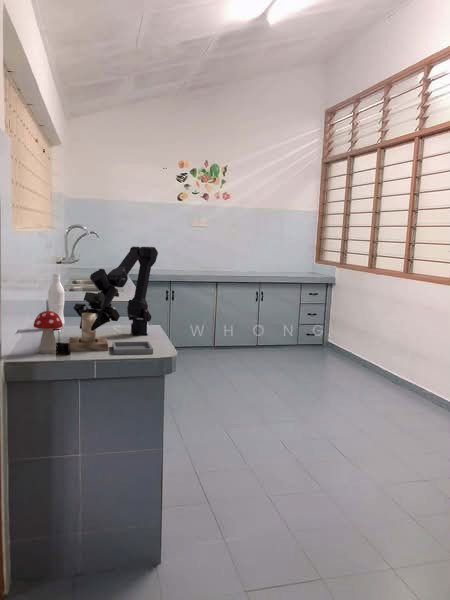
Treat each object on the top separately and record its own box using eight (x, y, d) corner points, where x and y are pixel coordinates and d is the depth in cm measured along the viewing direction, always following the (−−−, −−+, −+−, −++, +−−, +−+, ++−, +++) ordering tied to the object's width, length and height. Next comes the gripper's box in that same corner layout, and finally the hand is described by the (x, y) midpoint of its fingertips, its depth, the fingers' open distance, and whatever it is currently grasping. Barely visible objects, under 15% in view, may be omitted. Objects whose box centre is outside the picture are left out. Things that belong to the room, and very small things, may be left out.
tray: (148, 346, 197) (148, 341, 197) (153, 353, 184) (153, 348, 184) (112, 346, 194) (112, 341, 193) (114, 354, 180) (114, 349, 180)
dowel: (94, 345, 194) (95, 312, 193) (95, 348, 189) (95, 314, 188) (81, 345, 193) (81, 312, 191) (81, 348, 188) (81, 314, 187)
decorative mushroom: (64, 349, 185) (64, 309, 183) (60, 354, 176) (60, 312, 175) (36, 349, 183) (36, 309, 182) (30, 354, 175) (30, 312, 173)
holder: (106, 343, 200) (106, 337, 199) (107, 350, 186) (107, 344, 186) (69, 343, 196) (69, 337, 196) (68, 351, 183) (68, 344, 182)
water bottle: (67, 328, 228) (68, 274, 226) (56, 330, 222) (56, 274, 219) (55, 327, 231) (56, 273, 229) (44, 329, 225) (44, 273, 222)
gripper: (76, 282, 196) (56, 313, 187) (115, 286, 188) (96, 318, 179) (89, 301, 204) (70, 331, 195) (127, 305, 196) (109, 336, 187)
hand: (86, 329), depth 189 cm, fingers closed on dowel, 5 cm apart
